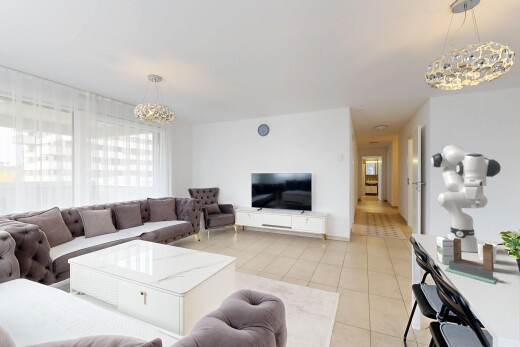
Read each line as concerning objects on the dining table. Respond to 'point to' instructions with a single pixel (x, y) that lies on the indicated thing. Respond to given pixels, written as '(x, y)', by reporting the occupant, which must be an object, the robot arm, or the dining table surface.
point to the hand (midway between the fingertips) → (475, 207)
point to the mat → (472, 276)
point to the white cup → (480, 251)
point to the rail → (471, 269)
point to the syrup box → (445, 250)
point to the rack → (486, 261)
